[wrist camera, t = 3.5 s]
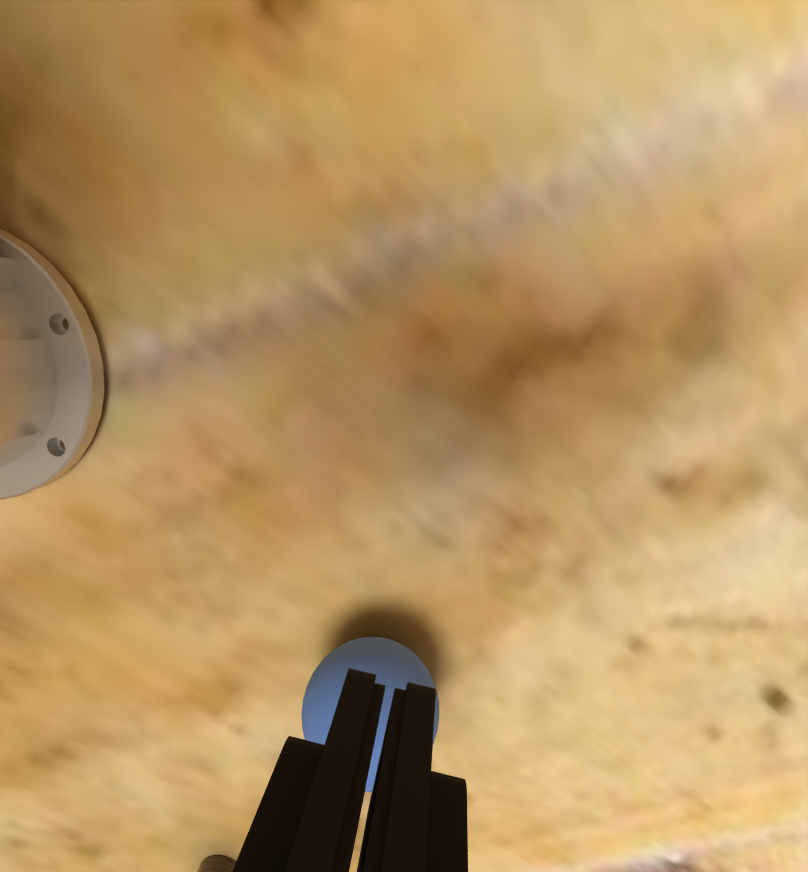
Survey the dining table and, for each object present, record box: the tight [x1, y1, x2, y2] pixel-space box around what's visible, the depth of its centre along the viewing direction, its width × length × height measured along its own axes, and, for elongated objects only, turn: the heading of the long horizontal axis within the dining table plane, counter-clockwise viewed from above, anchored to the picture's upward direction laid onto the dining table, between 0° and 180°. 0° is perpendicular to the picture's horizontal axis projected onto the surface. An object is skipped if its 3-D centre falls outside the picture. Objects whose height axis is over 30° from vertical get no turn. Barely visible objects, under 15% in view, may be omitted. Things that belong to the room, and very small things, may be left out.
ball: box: [302, 637, 439, 792], centre depth 23 cm, size 6×6×6 cm
